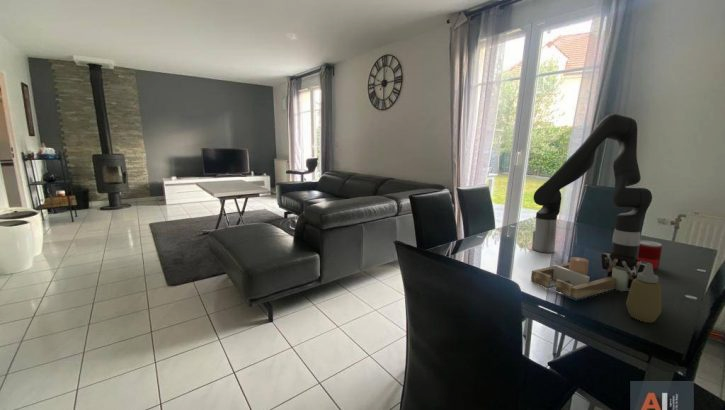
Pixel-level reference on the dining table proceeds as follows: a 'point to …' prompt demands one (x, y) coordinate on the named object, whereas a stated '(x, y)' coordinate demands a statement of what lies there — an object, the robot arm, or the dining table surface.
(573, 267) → the terracotta jar
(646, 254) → the canned food
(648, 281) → the squeeze bottle
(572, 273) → the pusher plate
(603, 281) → the lane
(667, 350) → the dining table surface
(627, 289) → the sage jar
